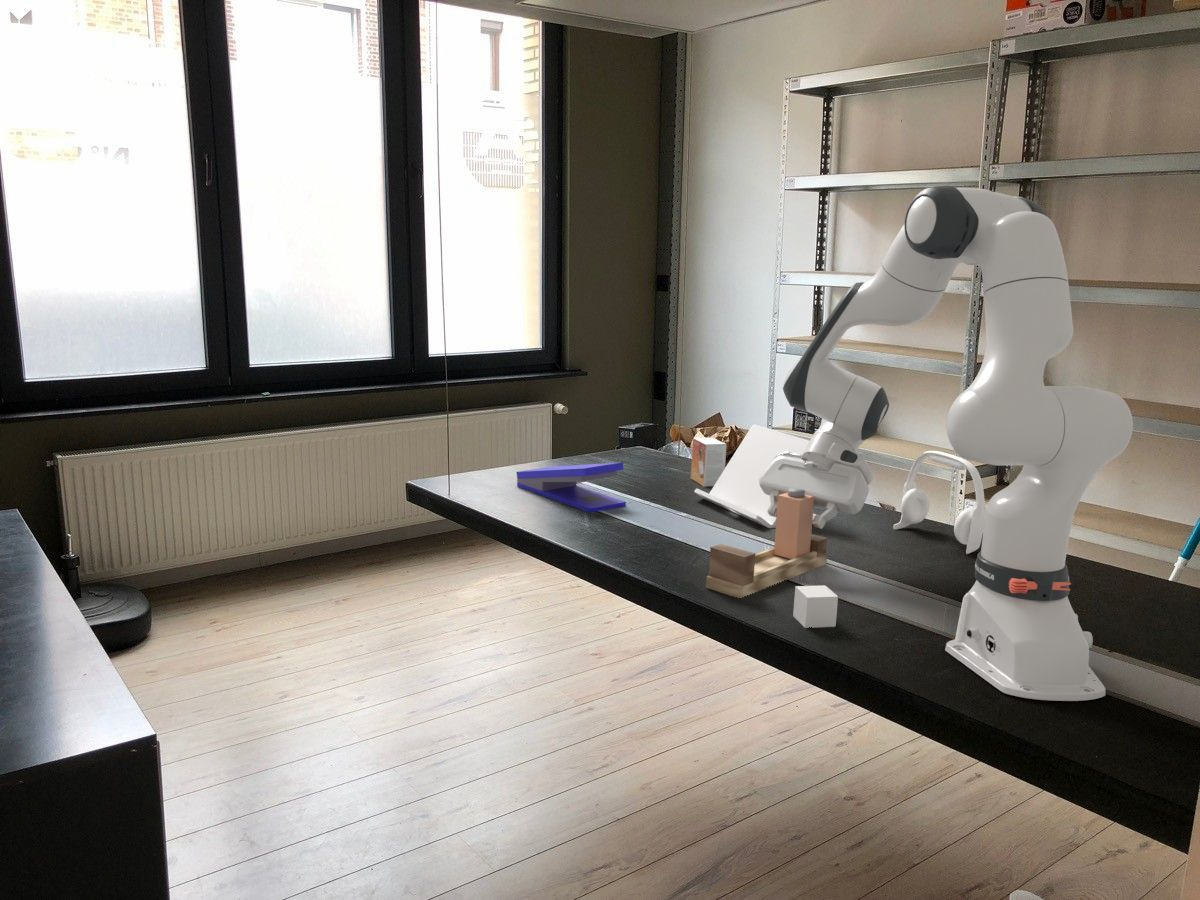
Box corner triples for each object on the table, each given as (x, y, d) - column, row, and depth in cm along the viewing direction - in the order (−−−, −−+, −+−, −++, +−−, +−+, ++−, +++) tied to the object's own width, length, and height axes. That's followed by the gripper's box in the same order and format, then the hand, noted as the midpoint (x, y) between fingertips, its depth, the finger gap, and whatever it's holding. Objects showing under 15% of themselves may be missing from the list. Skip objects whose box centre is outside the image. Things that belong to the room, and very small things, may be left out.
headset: (989, 553, 189) (1000, 463, 185) (961, 556, 186) (972, 465, 182) (916, 525, 206) (925, 443, 203) (890, 528, 203) (898, 444, 200)
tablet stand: (757, 494, 229) (762, 423, 225) (826, 522, 207) (832, 443, 204) (692, 500, 221) (695, 427, 217) (756, 530, 199) (761, 449, 196)
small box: (690, 479, 241) (692, 437, 239) (711, 478, 242) (713, 436, 240) (703, 487, 233) (705, 444, 231) (724, 486, 235) (726, 443, 233)
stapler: (588, 514, 208) (589, 469, 206) (513, 487, 229) (514, 446, 227) (628, 506, 215) (630, 463, 213) (552, 481, 236) (553, 441, 234)
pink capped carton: (787, 549, 179) (792, 485, 177) (809, 554, 176) (814, 490, 174) (773, 554, 176) (778, 489, 173) (795, 560, 173) (800, 494, 170)
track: (793, 554, 183) (796, 519, 182) (826, 563, 179) (829, 527, 177) (705, 587, 164) (708, 547, 163) (739, 598, 159) (742, 557, 158)
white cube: (822, 615, 154) (825, 585, 153) (835, 627, 149) (838, 596, 148) (792, 616, 153) (795, 586, 152) (804, 628, 148) (807, 597, 147)
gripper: (773, 440, 184) (739, 499, 179) (871, 459, 171) (838, 522, 166) (784, 460, 188) (752, 517, 184) (881, 479, 175) (849, 542, 170)
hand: (793, 520), depth 174 cm, fingers open, 8 cm apart
